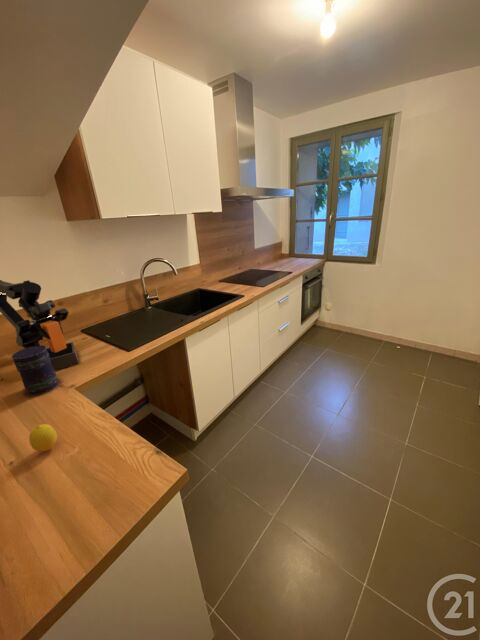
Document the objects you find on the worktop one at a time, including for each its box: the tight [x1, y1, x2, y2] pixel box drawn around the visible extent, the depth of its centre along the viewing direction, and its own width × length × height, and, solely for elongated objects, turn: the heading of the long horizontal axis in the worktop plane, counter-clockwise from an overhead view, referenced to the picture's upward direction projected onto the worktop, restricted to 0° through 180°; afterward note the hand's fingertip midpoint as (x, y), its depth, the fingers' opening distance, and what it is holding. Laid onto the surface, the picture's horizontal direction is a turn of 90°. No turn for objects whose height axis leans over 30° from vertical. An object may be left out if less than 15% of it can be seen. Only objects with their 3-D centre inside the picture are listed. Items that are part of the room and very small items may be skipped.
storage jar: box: [11, 345, 59, 396], centre depth 94 cm, size 10×10×15 cm
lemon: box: [28, 423, 58, 452], centre depth 68 cm, size 6×6×8 cm
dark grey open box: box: [46, 341, 80, 372], centre depth 113 cm, size 14×13×6 cm
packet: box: [41, 321, 67, 353], centre depth 109 cm, size 3×5×12 cm
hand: (56, 336), depth 108 cm, fingers closed on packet, 5 cm apart
